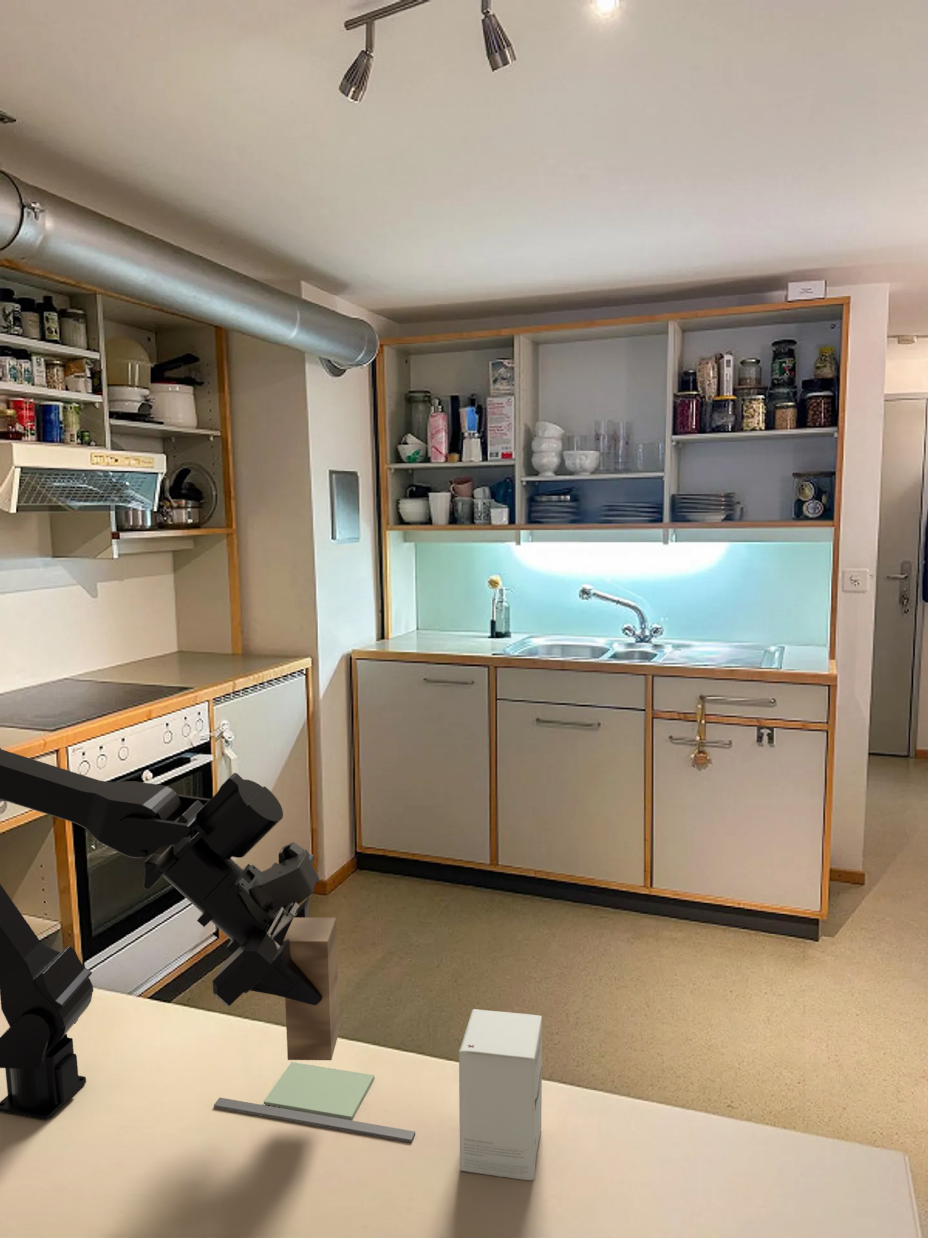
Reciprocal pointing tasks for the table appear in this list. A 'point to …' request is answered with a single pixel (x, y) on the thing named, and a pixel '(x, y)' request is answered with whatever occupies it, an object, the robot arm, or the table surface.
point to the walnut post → (317, 959)
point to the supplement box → (500, 1094)
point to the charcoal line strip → (315, 1119)
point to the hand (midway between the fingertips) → (325, 987)
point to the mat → (320, 1090)
